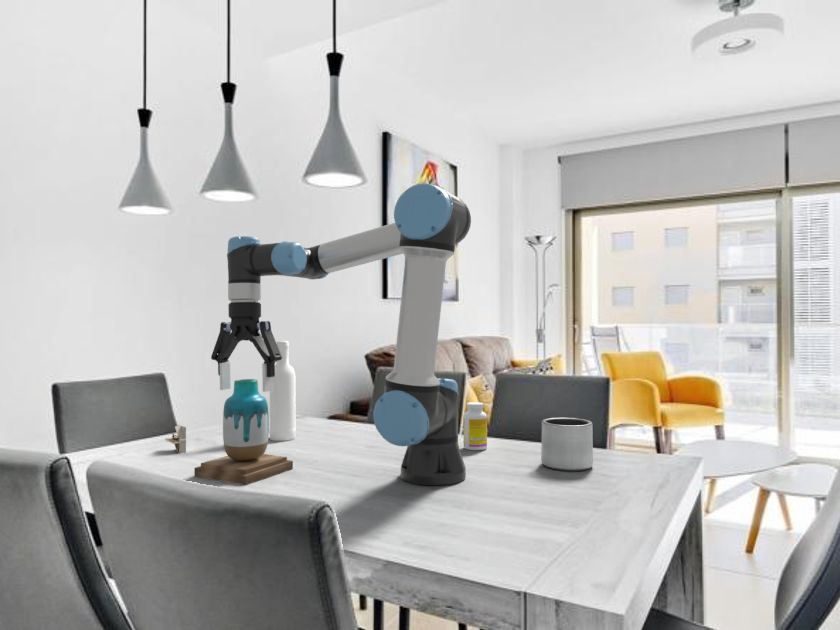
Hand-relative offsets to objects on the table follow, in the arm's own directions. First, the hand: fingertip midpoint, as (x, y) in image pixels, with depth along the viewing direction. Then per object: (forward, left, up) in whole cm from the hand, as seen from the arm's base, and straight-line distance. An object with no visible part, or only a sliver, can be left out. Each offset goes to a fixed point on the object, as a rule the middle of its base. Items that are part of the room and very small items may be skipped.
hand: (246, 390), depth 144 cm
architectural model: (+33, -9, -21) cm, 40 cm away
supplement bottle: (-39, -50, -20) cm, 66 cm away
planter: (-67, -42, -20) cm, 81 cm away
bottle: (+19, -36, -20) cm, 45 cm away
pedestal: (0, 0, -20) cm, 20 cm away
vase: (0, 0, -17) cm, 17 cm away
